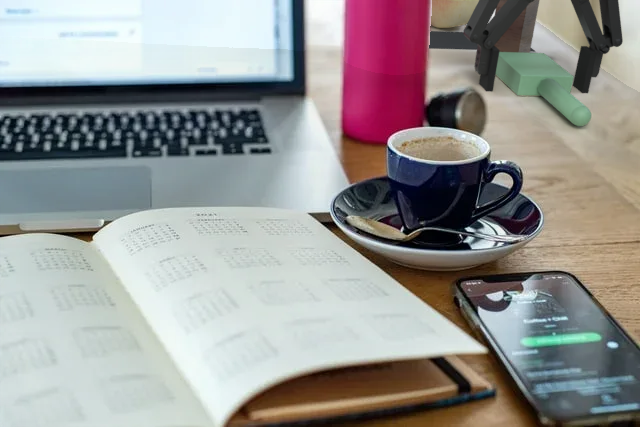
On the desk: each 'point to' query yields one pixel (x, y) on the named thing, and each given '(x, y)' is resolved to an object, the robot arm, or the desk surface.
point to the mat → (452, 41)
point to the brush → (542, 82)
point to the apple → (451, 12)
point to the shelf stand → (519, 30)
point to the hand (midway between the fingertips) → (530, 101)
